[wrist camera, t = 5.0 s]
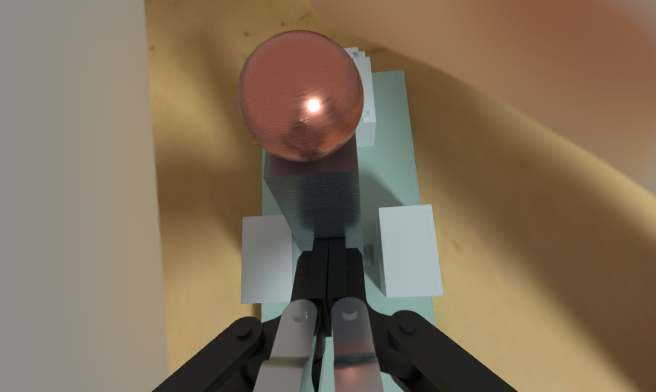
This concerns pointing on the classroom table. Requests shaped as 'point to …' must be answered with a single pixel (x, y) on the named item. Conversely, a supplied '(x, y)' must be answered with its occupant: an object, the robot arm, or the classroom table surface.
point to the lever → (308, 133)
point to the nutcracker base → (376, 216)
